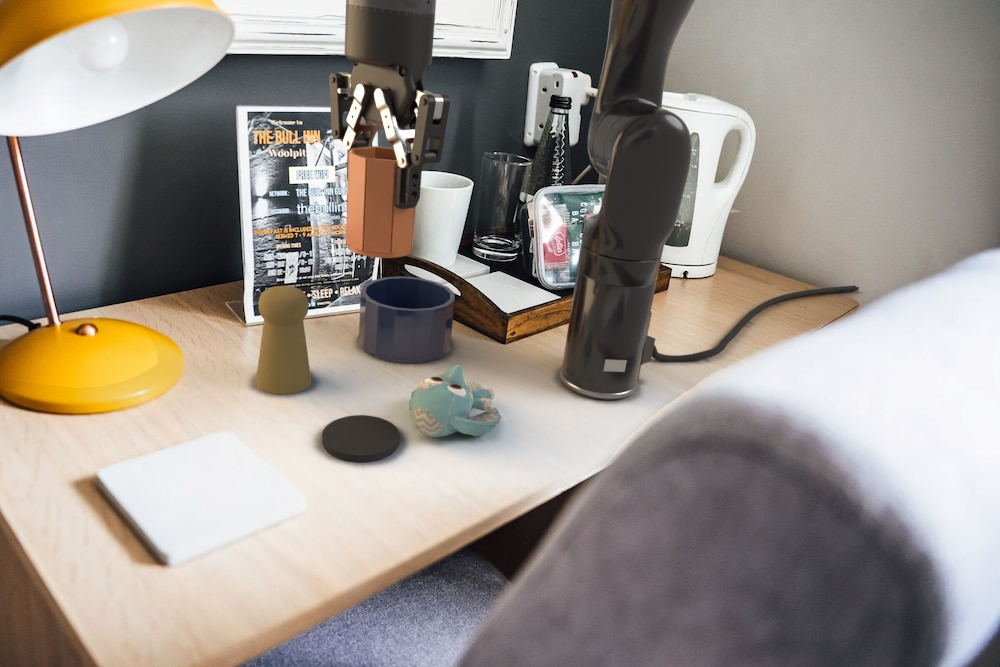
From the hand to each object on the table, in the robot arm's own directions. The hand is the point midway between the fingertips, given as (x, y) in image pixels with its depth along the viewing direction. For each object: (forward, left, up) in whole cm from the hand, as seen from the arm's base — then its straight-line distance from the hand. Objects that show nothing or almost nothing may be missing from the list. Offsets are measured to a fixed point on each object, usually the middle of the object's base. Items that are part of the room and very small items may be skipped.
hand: (381, 198), depth 72 cm
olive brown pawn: (+3, -12, -24) cm, 27 cm away
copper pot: (0, 0, -5) cm, 5 cm away
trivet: (+4, +3, -24) cm, 24 cm away
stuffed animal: (-7, +6, -24) cm, 25 cm away
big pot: (-15, -12, -24) cm, 31 cm away
